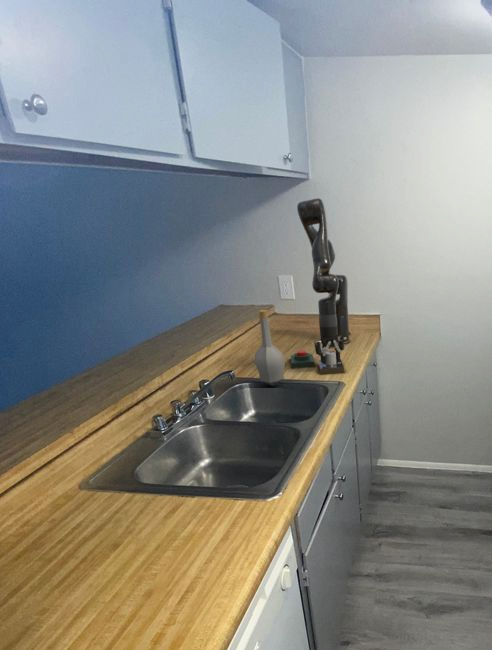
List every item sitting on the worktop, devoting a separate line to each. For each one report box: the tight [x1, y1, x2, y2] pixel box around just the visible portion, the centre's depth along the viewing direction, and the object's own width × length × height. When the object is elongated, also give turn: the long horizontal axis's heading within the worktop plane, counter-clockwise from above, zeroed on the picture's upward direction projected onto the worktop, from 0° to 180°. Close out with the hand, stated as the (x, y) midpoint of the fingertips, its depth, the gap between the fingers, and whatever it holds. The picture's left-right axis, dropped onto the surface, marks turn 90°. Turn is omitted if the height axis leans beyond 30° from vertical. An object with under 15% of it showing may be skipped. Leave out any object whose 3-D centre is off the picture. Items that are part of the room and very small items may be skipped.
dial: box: [325, 350, 336, 365], centre depth 206 cm, size 5×5×5 cm
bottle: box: [253, 309, 286, 387], centre depth 182 cm, size 11×11×30 cm
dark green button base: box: [290, 352, 315, 369], centre depth 214 cm, size 12×10×4 cm
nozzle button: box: [296, 349, 307, 356], centre depth 213 cm, size 4×4×2 cm
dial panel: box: [318, 358, 345, 375], centre depth 208 cm, size 12×10×3 cm
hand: (330, 361), depth 207 cm, fingers open, 6 cm apart
